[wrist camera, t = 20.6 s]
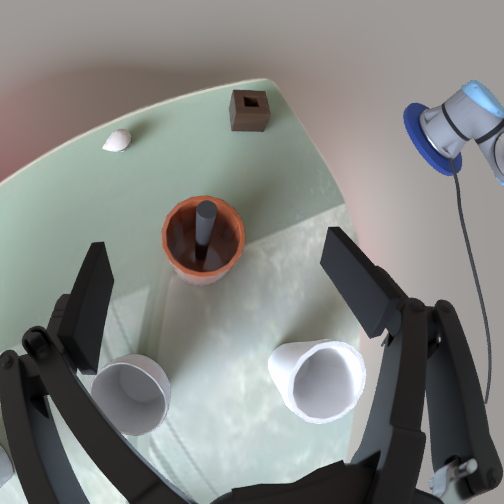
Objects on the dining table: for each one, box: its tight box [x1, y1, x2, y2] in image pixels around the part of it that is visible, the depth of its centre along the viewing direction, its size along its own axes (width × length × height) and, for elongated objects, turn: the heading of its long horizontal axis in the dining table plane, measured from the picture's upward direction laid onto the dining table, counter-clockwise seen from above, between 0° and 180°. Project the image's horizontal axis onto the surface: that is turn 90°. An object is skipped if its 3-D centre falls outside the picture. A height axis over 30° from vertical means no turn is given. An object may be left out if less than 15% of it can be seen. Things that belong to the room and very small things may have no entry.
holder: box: [229, 90, 270, 132], centre depth 42 cm, size 6×6×5 cm
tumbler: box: [162, 196, 246, 286], centre depth 33 cm, size 9×9×11 cm
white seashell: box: [103, 129, 131, 152], centre depth 38 cm, size 4×5×2 cm
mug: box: [90, 354, 171, 436], centre depth 28 cm, size 13×9×10 cm
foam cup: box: [268, 339, 366, 424], centre depth 32 cm, size 10×9×13 cm
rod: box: [195, 200, 217, 260], centre depth 29 cm, size 2×2×18 cm
